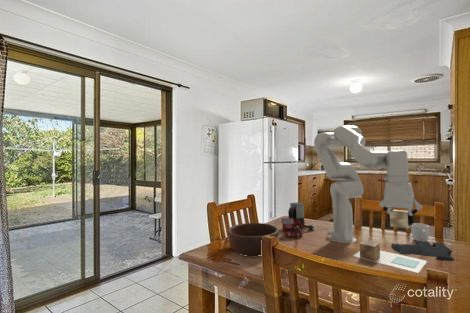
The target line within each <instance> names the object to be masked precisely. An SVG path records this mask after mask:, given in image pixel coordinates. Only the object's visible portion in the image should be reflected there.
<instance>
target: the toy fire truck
mask: <svg viewBox="0 0 470 313" xmlns="http://www.w3.org/2000/svg"><path fill="white" fill-rule="evenodd" d="M281 224H282V234H283V235H285V237H286V238H287V239H290V238H292V237H293V235H294V237H295V238H296V237H300V238H301V237H303V235H304V234H305V228H304V227H303V225H302V223H301V221H299V219H298V218H295V220H294V219H293V218H289V217H288V218H286V217H285V218H284V217H283V218H281ZM299 224H300V225H299ZM294 227H295V228H294Z"/></svg>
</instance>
